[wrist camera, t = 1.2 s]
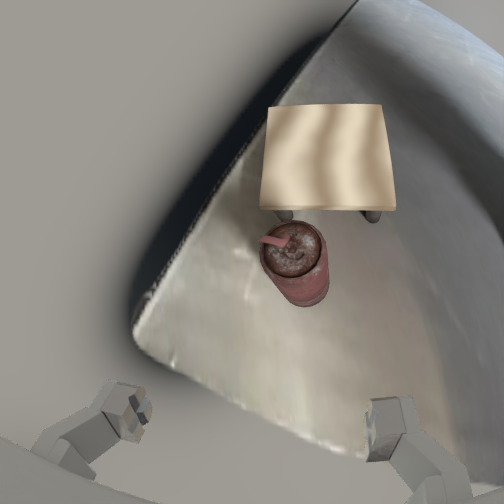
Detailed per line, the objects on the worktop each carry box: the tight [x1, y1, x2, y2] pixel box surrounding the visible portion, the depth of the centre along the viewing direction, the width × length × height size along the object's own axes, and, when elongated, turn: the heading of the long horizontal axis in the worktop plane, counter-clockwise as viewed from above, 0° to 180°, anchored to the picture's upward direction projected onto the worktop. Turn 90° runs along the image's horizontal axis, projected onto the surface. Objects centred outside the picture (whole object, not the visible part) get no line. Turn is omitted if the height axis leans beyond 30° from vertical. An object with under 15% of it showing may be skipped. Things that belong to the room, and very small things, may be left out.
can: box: [259, 220, 329, 307], centre depth 34 cm, size 6×6×14 cm
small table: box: [259, 104, 396, 223], centre depth 41 cm, size 16×16×7 cm
